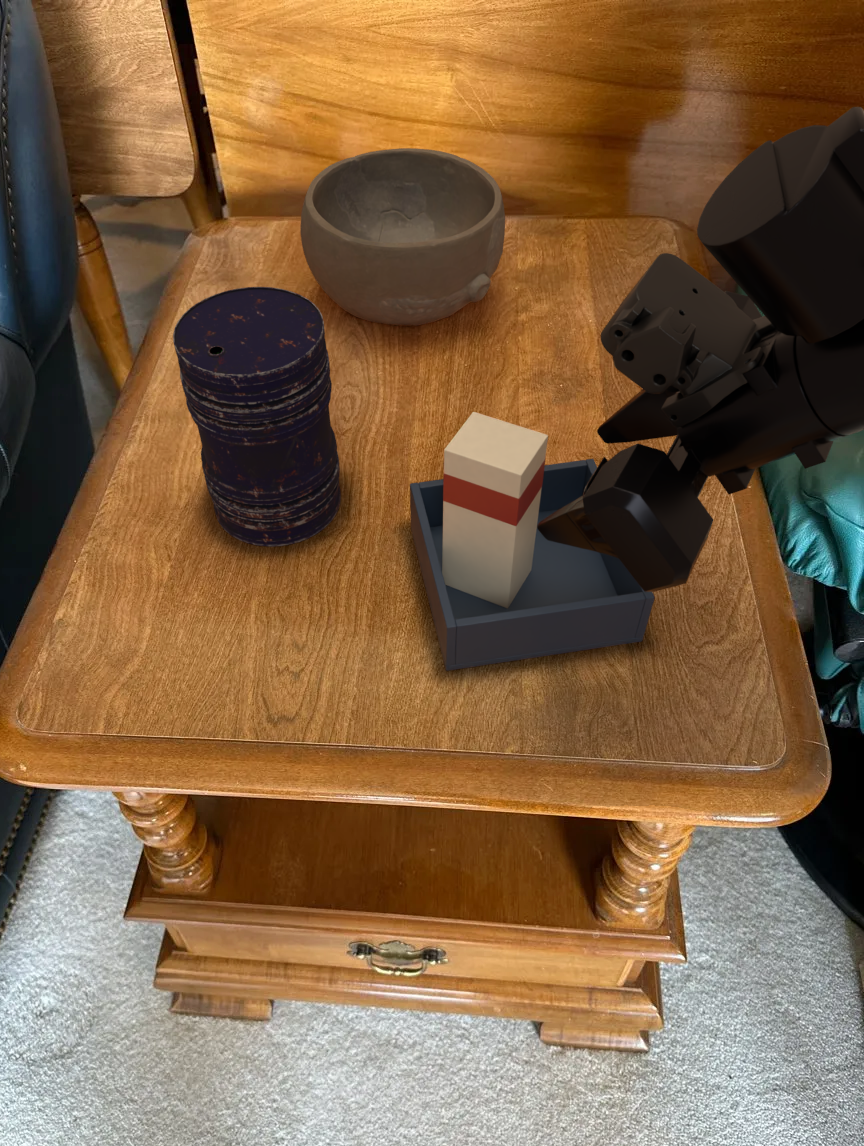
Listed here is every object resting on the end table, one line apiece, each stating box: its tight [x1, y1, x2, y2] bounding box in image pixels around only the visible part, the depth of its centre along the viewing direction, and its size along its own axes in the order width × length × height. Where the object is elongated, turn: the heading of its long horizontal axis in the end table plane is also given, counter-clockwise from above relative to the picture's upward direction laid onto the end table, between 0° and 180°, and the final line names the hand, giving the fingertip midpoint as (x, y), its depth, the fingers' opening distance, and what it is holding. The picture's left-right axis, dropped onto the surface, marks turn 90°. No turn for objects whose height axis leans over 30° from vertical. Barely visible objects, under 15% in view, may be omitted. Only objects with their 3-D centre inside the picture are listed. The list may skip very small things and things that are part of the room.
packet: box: [442, 411, 549, 608], centre depth 62 cm, size 5×4×12 cm
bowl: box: [299, 147, 506, 326], centre depth 85 cm, size 17×18×10 cm
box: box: [409, 458, 656, 672], centre depth 65 cm, size 13×13×4 cm
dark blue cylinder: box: [172, 286, 342, 547], centre depth 67 cm, size 10×10×15 cm
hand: (573, 481), depth 56 cm, fingers open, 9 cm apart
